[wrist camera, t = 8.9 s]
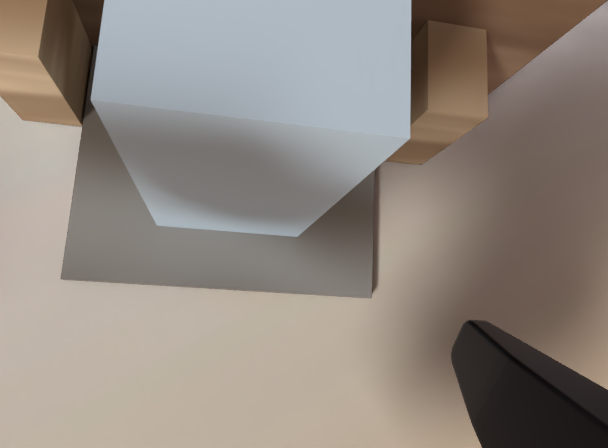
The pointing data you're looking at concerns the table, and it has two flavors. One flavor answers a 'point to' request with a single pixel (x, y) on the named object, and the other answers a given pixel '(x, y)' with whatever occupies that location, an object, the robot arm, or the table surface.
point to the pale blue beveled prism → (252, 104)
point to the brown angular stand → (249, 246)
